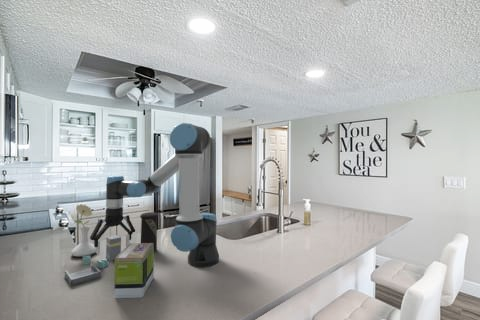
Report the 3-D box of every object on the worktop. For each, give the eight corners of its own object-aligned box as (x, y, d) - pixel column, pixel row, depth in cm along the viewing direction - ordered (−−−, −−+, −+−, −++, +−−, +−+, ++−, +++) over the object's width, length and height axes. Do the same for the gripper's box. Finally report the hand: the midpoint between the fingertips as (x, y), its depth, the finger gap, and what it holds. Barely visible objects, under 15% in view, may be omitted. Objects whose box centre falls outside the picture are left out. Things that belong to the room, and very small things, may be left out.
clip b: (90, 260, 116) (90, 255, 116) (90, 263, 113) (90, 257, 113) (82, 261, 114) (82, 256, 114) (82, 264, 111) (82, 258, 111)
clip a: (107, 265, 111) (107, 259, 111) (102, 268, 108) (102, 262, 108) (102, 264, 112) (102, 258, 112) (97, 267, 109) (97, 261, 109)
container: (151, 254, 125) (152, 215, 125) (135, 252, 127) (136, 214, 127) (160, 248, 133) (161, 212, 133) (145, 246, 135) (146, 210, 135)
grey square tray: (100, 277, 100) (100, 271, 100) (71, 286, 93) (71, 279, 93) (92, 268, 107) (92, 263, 107) (64, 276, 100) (64, 270, 100)
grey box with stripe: (120, 257, 120) (121, 237, 120) (109, 260, 117) (110, 239, 117) (116, 254, 124) (117, 234, 124) (106, 257, 120) (106, 237, 120)
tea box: (129, 278, 100) (130, 242, 100) (154, 277, 101) (155, 242, 101) (113, 299, 85) (114, 257, 85) (142, 298, 86) (143, 256, 86)
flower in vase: (102, 252, 126) (103, 204, 126) (80, 260, 115) (81, 207, 115) (86, 248, 131) (87, 201, 131) (63, 255, 121) (64, 205, 121)
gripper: (136, 203, 132) (135, 242, 132) (83, 209, 114) (81, 254, 114) (142, 205, 127) (141, 246, 127) (87, 211, 108) (86, 259, 109)
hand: (113, 250), depth 120 cm, fingers open, 13 cm apart
